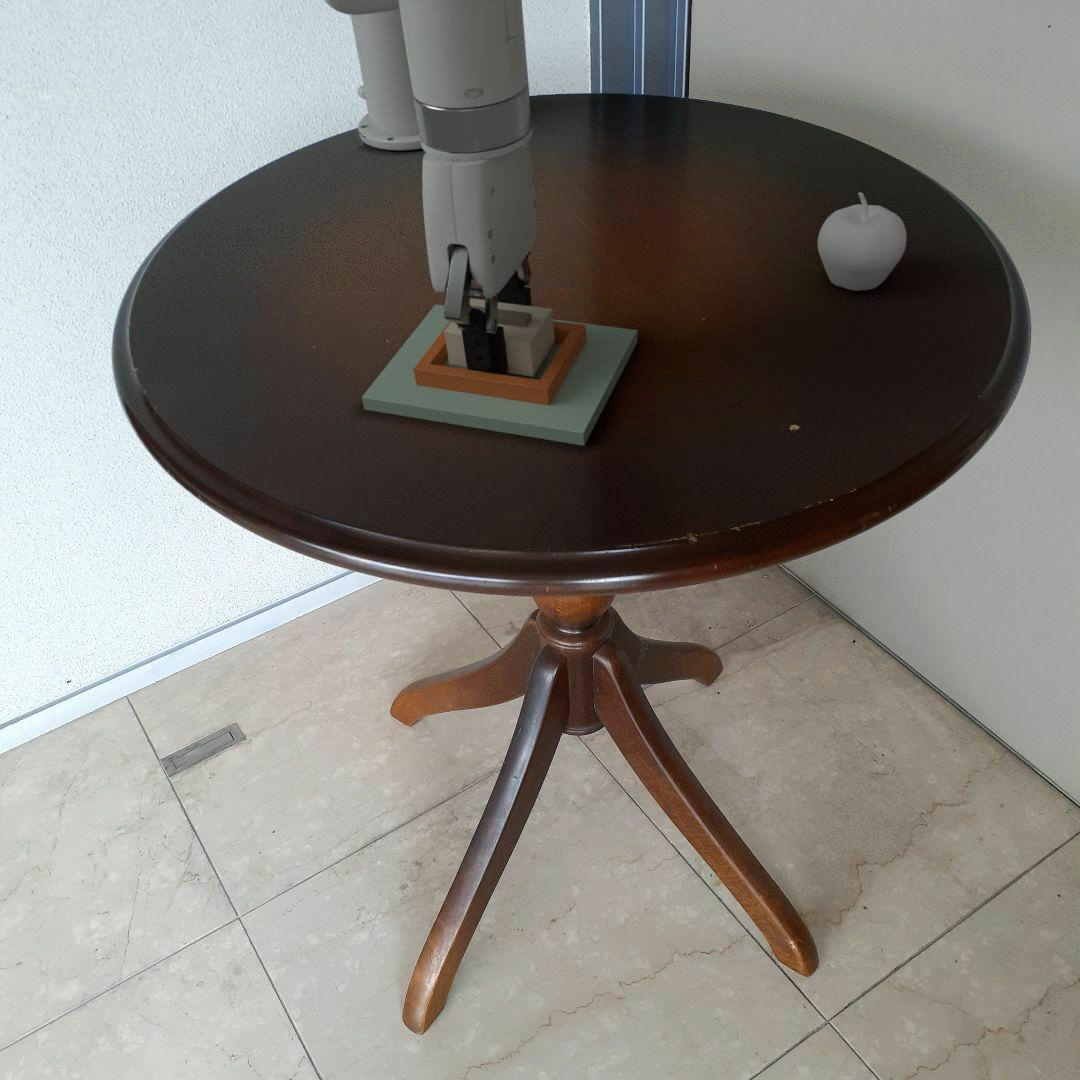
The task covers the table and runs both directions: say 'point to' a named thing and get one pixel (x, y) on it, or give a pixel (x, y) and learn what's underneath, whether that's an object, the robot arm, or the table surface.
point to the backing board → (506, 383)
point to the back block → (512, 336)
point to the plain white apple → (861, 245)
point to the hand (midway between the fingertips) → (501, 348)
